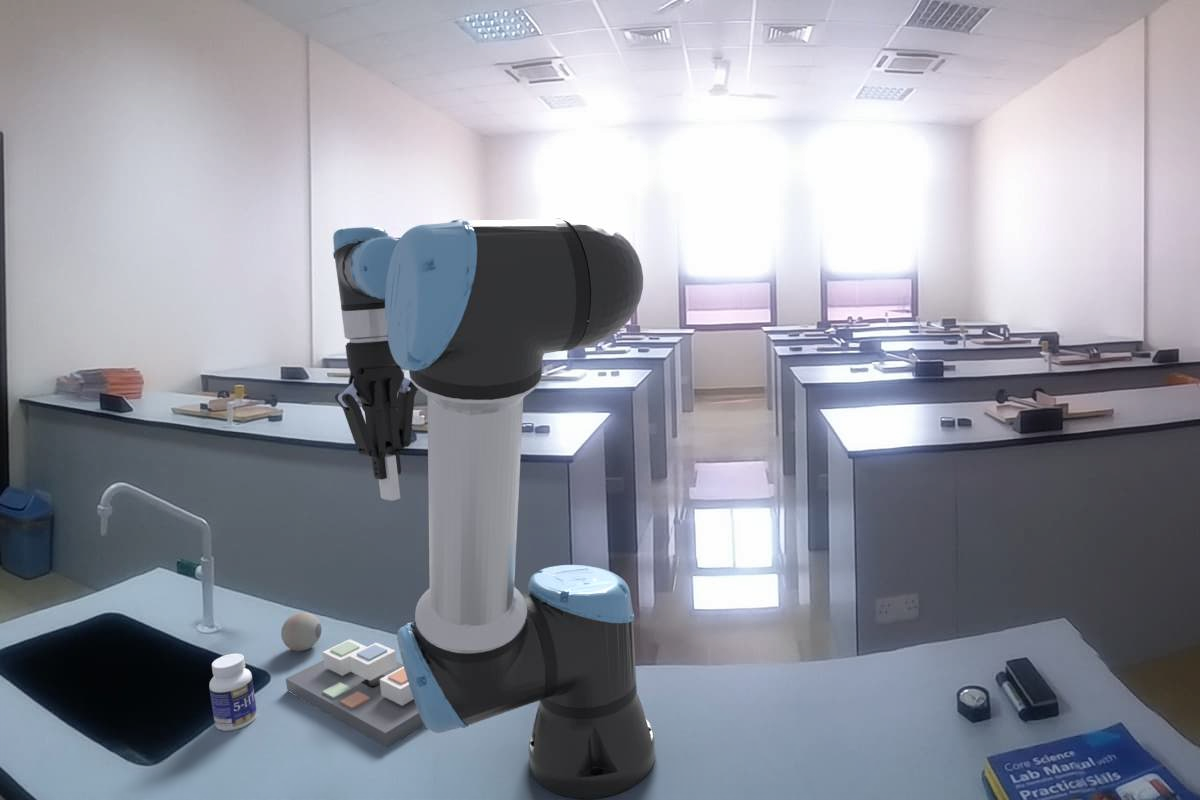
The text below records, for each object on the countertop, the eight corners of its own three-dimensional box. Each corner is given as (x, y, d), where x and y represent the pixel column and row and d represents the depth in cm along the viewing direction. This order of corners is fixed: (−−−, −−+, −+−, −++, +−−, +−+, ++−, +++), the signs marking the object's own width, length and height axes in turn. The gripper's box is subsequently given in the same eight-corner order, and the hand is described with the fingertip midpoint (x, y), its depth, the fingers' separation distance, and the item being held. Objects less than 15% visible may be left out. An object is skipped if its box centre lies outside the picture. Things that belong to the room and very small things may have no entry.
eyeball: (315, 656, 122) (310, 621, 121) (277, 659, 122) (272, 623, 121) (329, 638, 128) (324, 605, 127) (292, 640, 128) (288, 607, 127)
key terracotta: (431, 703, 106) (427, 672, 105) (404, 719, 102) (400, 687, 102) (410, 693, 109) (406, 662, 108) (383, 708, 105) (379, 677, 104)
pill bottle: (241, 733, 102) (231, 671, 101) (206, 730, 103) (196, 669, 102) (265, 710, 107) (257, 651, 106) (232, 708, 109) (223, 650, 107)
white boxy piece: (398, 679, 110) (395, 649, 109) (371, 694, 106) (367, 663, 106) (379, 670, 113) (376, 640, 112) (352, 684, 109) (348, 654, 109)
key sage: (371, 674, 115) (367, 645, 114) (343, 688, 111) (340, 658, 110) (353, 665, 117) (349, 637, 117) (326, 679, 114) (322, 650, 113)
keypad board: (459, 702, 106) (457, 687, 106) (387, 747, 97) (385, 730, 97) (358, 655, 121) (356, 642, 121) (287, 691, 112) (285, 676, 112)
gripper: (394, 333, 117) (410, 483, 121) (316, 344, 107) (337, 506, 111) (425, 334, 112) (441, 490, 116) (347, 344, 102) (367, 514, 106)
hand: (390, 498), depth 113 cm, fingers closed
